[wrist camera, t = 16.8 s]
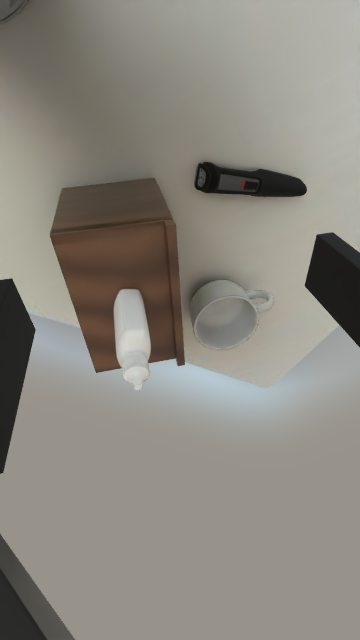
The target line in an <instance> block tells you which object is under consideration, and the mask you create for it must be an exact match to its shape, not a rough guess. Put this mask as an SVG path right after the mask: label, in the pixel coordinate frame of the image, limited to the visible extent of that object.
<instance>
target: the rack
mask: <svg viewBox="0 0 360 640" xmlns="http://www.w3.org/2000/svg"><path fill="white" fill-rule="evenodd" d="M50 237H51V240H52V243H53V246H54V249H55V252H56V255H57V258H58V261H59V264H60V267H61V270H62V273H63V276H64V279H65V282H66V285H67V288H68V291H69V294H70V297H71V300H72V303H73V306H74V309H75V312H76V315H77V318H78V321H79V324H80V327H81V330H82V332H83V336H84V339H85V341H86V344H87V347H88V350H89V353H90V356H91V359H92V362H93V365H94V368H95V371H96V373H97V372H103V371H109V370H114V369H120V368H122V367H121V366H120V364H119V362H118V360H117V355H116V342H115V325H114V303H115V299H116V297H117V295H118V293H119V291H120V290H122V289H137V290H139V291H140V293H141V295H142V298H143V302H144V308H145V313H146V319H147V324H148V330H149V336H150V342H151V352H150V356H149V359H148V363H152V362H158V361H163V360H169V359H175V358H176V361H177V365H178V366H181V365H185V360H184V344H183V328H182V312H181V296H180V280H179V264H178V249H177V233H176V224H175V222H174V220H173V217H172V215H171V213H170V211H169V209H168V207H167V204H166V202H165V200H164V198H163V196H162V193H161V191H160V189H159V187H158V185H157V183H156V180H155V178H151V179H142V180H133V181H125V182H116V183H107V184H99V185H90V186H81V187H72V188H64V189H62V191H61V195H60V199H59V202H58V206H57V210H56V214H55V217H54V221H53V225H52V229H51V232H50Z"/></svg>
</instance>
